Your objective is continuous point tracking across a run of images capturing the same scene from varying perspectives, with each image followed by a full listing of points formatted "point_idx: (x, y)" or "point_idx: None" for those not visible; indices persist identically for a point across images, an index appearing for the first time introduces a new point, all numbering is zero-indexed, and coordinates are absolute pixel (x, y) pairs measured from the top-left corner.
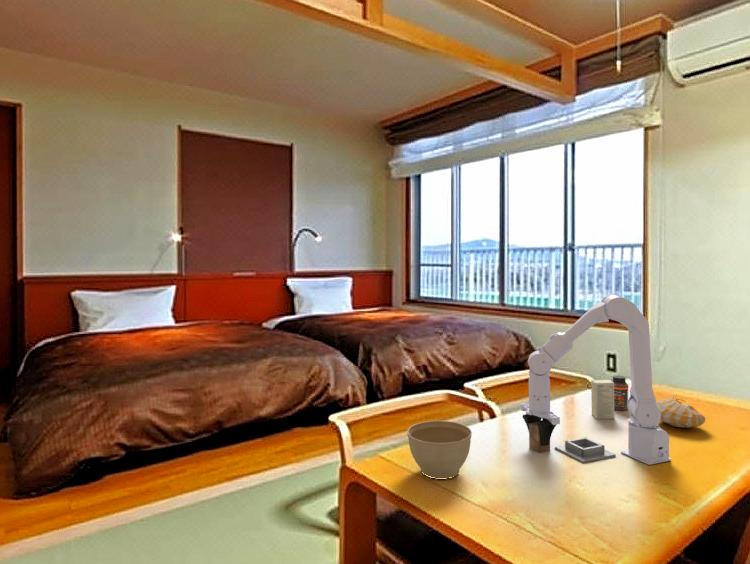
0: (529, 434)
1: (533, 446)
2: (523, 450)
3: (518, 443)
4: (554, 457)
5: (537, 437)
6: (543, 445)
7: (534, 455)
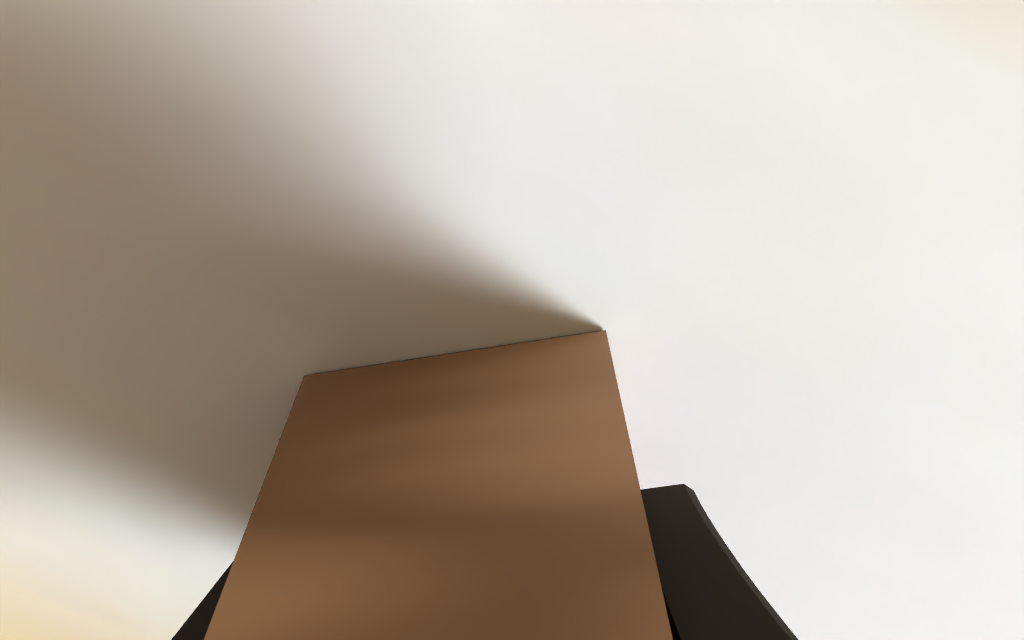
0: (637, 550)
1: (456, 396)
2: (496, 141)
3: (933, 228)
4: (49, 522)
5: (245, 627)
6: None
7: (162, 240)
